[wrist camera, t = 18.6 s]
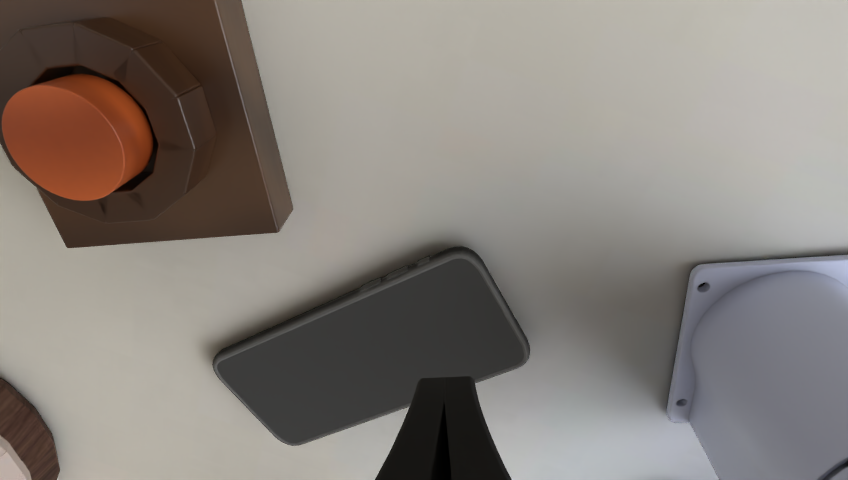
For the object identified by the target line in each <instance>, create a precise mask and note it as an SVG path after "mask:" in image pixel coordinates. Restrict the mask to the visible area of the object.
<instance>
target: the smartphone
mask: <svg viewBox="0 0 848 480" xmlns="http://www.w3.org/2000/svg"><path fill="white" fill-rule="evenodd" d="M529 355H530V347H529V343H528V340H527V338H526V336H525V334H524V333H523V331H522V329H521V327H520V326H519V324H518V322H517V320H516V319H515V317H514V315H513V313H512V312H511V310H510V308H509V306H508V305H507V303H506V301H505V300H504V298H503V296H502V294H501V292H500V291H499V289H498V287H497V285H496V284H495V282H494V280H493V278H492V276H491V275H490V273H489V271H488V269H487V268H486V266H485V264H484V262H483V260H482V259H481V258H480V257H479V256H478V255H477V254H476V253H475V252H474V251H472V250H471V249H469V248H466V247H462V246H461V247H453V248H449V249H447V250H445V251H442V252H440V253H438V254H436V255H433V256H431V257H430V256H428V257H425V258H423V259H421V260H419V261H418V263H415V264H413V265H411V266H408V265H407V266H405V267H403V268H401V269H398V270H396V271H394V272H392V273H389V274H387V276H386V277H384V278H381V277H380V278H378V279H376V280H374V281H371V282H369V283H367V284H365V285H362V286H361V288H359V289H357V290H355V291H352V292H350V293H348V294H346V295H343V296H341V297H339V298H337V299H334V300H332V301H330V302H328V303H326V304H323V305H321V306H319V307H317V308H314V309H312V310H310V311H308V312H305V313H303V314H301V315H299V316H296V317H294V318H292V319H290V320H288V321H285V322H283V323H281V324H279V325H276V326H274V327H272V328H270V329H267V330H265V331H263V332H261V333H258V334H256V335H254V336H252V337H250V338H247V339H245V340H243V341H241V342H238V343H236V344H234V345H232V346H229V347H227V348H225V349H223V350H221V351H220V352H218V353H217V355H216V356H215V357H214V359H213V369H214V372H215V373H216V375H217V377H218V378H219V379H220V380H221V381H222V382H223V383H224V384H225V385H226V386H227V388H228V389H229V390H230V391H231V392H232V393H233V394H234V395H235V396H236V397H237V398H238V399H239V400H240V401H241V402H242V403H243V404H244V405H245V406H246V407H247V408H248V409H249V410H250V411H251V412H252V413H253V415H254V416H255V417H256V418H257V419H258V420H259V421H260V422H261V423H262V424H263V425H264V426H265V427H266V428H267V429H268V430H269V431H270V432H271V433H272V434H273V435H274V436H275V437H276V438H277V439H278V440H280V441H281V442H283V443H285V444H287V445H292V446H298V445H302V444H305V443H308V442H310V441H313V440H316V439H319V438H322V437H325V436H327V435H330V434H333V433H336V432H339V431H342V430H344V429H347V428H350V427H353V426H356V425H359V424H361V423H364V422H367V421H370V420H373V419H376V418H378V417H381V416H384V415H387V414H390V413H393V412H395V411H398V410H401V409H404V408H407V407H410V405H411V402H412V399H413V396H414V393H415V390H416V386H417V383H418V381H419V380H420V379H421V378H437V377H460V376H471V377H472V378H473V379H475V383H477V382H480V381H483V380H486V379H489V378H491V377H494V376H497V375H500V374H503V373H506V372H508V371H511V370H514V369H517V368H519V367H521V366H522V365H524V364H525V363H526V362H527V360H528V359H529Z"/></svg>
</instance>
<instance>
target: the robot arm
mask: <svg viewBox="0 0 848 480" xmlns="http://www.w3.org/2000/svg"><path fill="white" fill-rule="evenodd" d="M704 282H705V285H704V286H702V287H699V288H698V285H700V284H701V283H704ZM679 399H681V400H679ZM666 413H667V416H668V418H669V420H670V421H672V422H674V423H687V422H690V424H691V426H692V428H693V430H694V432H695V434H696V436H697V438H698V440H699V441H700V443H701V445H702V447H703V449H704V451H705V453H706V455H707V457H708V459H709V461H710V462H711V464H712V466H713V468H714V470H715V472H716V474H717V476H718V478H719V480H848V255H836V256H820V257H805V258H789V259H774V260H758V261H743V262H727V263H712V264H702V265H698V266H696V267H695V268H694V269H693V270H692V271H691V273H690V278H689V284H688V289H687V295H686V301H685V307H684V313H683V318H682V324H681V330H680V336H679V341H678V347H677V353H676V359H675V364H674V370H673V376H672V382H671V388H670V393H669V399H668V405H667V411H666ZM375 480H511V478H510V476H509V474H508V472H507V470H506V468H505V466H504V464H503V462H502V459H501V457H500V455H499V453H498V451H497V448H496V446H495V444H494V441H493V439H492V437H491V434H490V432H489V430H488V427H487V424H486V422H485V419H484V416H483V413H482V410H481V407H480V404H479V400H478V396H477V392H476V387H475V379H473V378H472V377H471V376H460V377H437V378H421V379H420V380H419V381H418V383H417V386H416V390H415V393H414V396H413V399H412V402H411V405H410V407H409V410H408V413H407V415H406V417H405V420H404V422H403V425H402V427H401V429H400V431H399V433H398V436H397V438H396V440H395V442H394V444H393V447H392V449H391V451H390V453H389V455H388V456H387V458H386V460H385V462H384V464H383V466H382V468H381V470H380V471H379V473H378V475H377V477H376V479H375Z"/></svg>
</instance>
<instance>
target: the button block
mask: <svg viewBox="0 0 848 480" xmlns="http://www.w3.org/2000/svg"><path fill="white" fill-rule="evenodd" d="M72 74H89V75H93V76H97V77H100V78H103V79H105V80H108V81H110V82H112V83H113V84H115V85H117V86H118V87H120V88H121V89H122V90H124V91H125V92H126V93H127V94H129V95H130V96H131V97H132V98H133V99H134V101H135V102H136V103H137V104H138V105H139V107H140V108H141V109H142V111H143V112H144V114H145V116H146V118H147V120H148V122H149V125H150V128H151V131H152V136H153V152H152V156H151V159H150V161H149V163H148V165H147V166H146V168H145V169H144V170H143V171H142V172H141V173H139V174H138V175H137V176H135V177H134V178H132V179H131V180H129V181H128V182H126V183H125V184H123V185H122V186H121V187H119V188H118V189H116V190H115V191H113V192H112V193H110V194H109V195H107V196H105V197H103V198H100V199H96V200H90V201H80V200H72V199H68V198H64V197H61V196H58V195H56V194H54V193H52V192H50V191H48V190H46V189H44V188H43V187H41V186H40V185H38V184H37V183H36V182H34V181H33V180H32V179H31V178H29V177H28V176H27V175H26V174H25V173H24V172H23V171H22V169H21V168H20V167H19V166H18V165H17V163H16V162H15V160H14V159H13V157H12V156H11V154H10V152H9V150H8V148H7V146H6V143H5V140H4V137H3V132H2V115H3V111H4V108H5V106H6V104H7V102H8V101H9V100H10V98H11V97H12V96H13V95H14V94H15V93H17V92H18V91H20V90H22V89H24V88H27V87H30V86H33V85H36V84H40V83H43V82H46V81H50V80H53V79H57V78H60V77H63V76H67V75H72ZM0 143H1V145H2V147H3V149H4V151H5V153H6V155H7V157H8V159H9V161H10V163H11V164H12V166H14V168H15V169H16V170H17V171H18V172H20V173H21V174H22V175H23V176H24V177H25V178H26V179H28V180H29V181H30V182H31V183H32V184H33V185H34V186H36V188H37V190H38V192H39V194H40V196H41V198H42V200H43V202H44V204H45V206H46V208H47V210H48V211H49V213H50V215H51V217H52V219H53V221H54V223H55V225H56V227H57V229H58V231H59V233H60V235H61V237H62V239H63V241H64V243H65V245H66V247H67V248H77V247H90V246H104V245H117V244H130V243H144V242H157V241H170V240H184V239H197V238H210V237H224V236H237V235H251V234H264V233H277V232H279V231H280V229H281V228H282V226H283V225H284V223H285V221H286V220H287V218H288V217H289V215H290V214H291V212H292V210H293V206H292V202H291V198H290V194H289V190H288V186H287V182H286V178H285V174H284V170H283V166H282V162H281V158H280V154H279V150H278V146H277V142H276V138H275V134H274V130H273V126H272V122H271V118H270V114H269V110H268V106H267V102H266V98H265V94H264V90H263V86H262V82H261V78H260V74H259V70H258V66H257V63H256V59H255V55H254V51H253V47H252V43H251V39H250V35H249V31H248V27H247V23H246V19H245V15H244V11H243V7H242V3H241V0H0Z"/></svg>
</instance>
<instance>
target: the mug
mask: <svg viewBox="0 0 848 480" xmlns="http://www.w3.org/2000/svg"><path fill="white" fill-rule="evenodd" d="M59 471H60V468H59V463H58V458H57V453H56V449H55V444H54V440H53V436H52V433H51V432H50V430H49V429H48V427H47V425H46V424H45V422H44V421H43V419H42V418H41V416H40V415H39V413H38V412H37V410H36V409H35V407H34V406H32V405H31V404H30V403H29V402H28V401H27V400H26V399H25V398H24V397H23V396H22V395H20V394H19V393H18V392H17V391H16V390H15V389H14V388H13V387H12V386H11V385H10V384H8V383H7V382H6V381H4V380H3V379H1V378H0V480H57V477H58V474H59Z"/></svg>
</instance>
